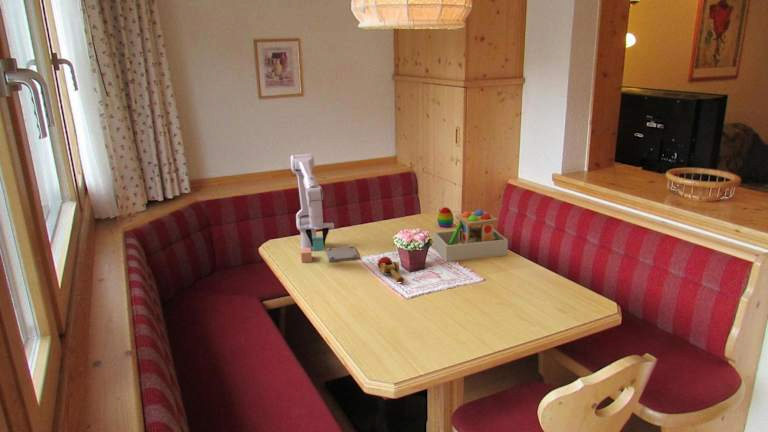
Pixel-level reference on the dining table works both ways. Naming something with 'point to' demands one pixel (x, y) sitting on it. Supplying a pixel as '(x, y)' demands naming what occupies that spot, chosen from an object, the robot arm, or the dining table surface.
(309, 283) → the dining table surface
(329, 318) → the dining table surface
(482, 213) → the pounding bench toy
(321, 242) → the teal brick
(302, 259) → the terracotta brick
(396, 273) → the kendama
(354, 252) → the baseplate
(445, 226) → the decorative egg
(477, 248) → the toy tray
